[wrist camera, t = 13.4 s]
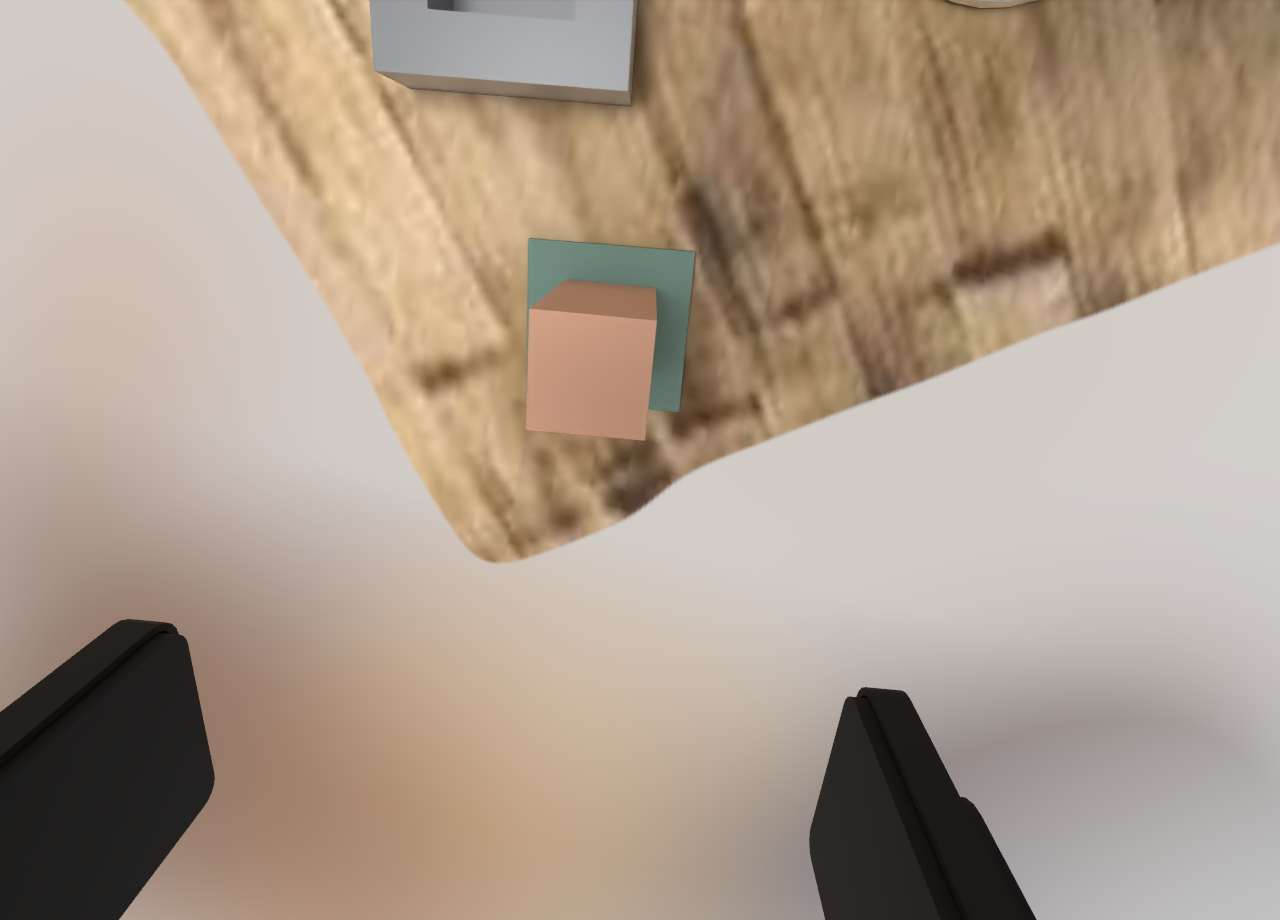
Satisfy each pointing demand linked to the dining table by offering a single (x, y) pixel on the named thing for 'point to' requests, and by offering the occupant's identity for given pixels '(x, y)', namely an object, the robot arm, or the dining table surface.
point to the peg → (591, 359)
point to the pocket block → (509, 47)
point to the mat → (626, 267)
